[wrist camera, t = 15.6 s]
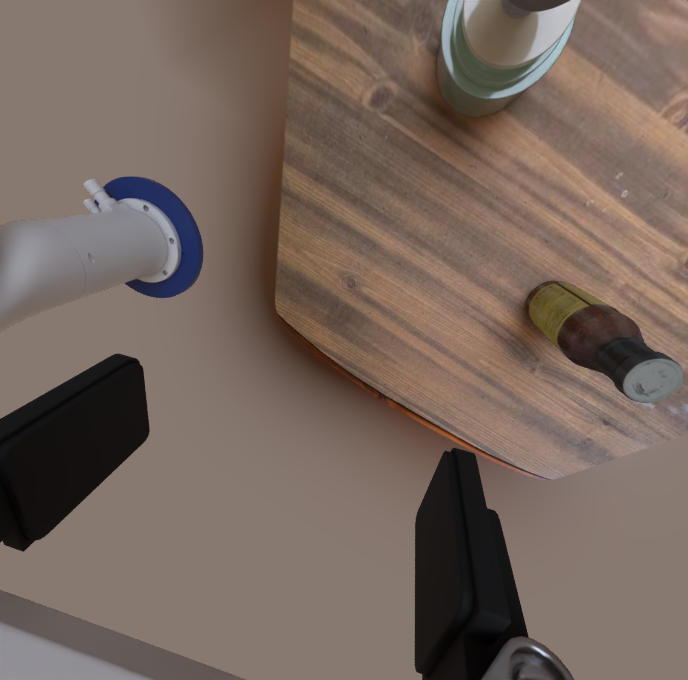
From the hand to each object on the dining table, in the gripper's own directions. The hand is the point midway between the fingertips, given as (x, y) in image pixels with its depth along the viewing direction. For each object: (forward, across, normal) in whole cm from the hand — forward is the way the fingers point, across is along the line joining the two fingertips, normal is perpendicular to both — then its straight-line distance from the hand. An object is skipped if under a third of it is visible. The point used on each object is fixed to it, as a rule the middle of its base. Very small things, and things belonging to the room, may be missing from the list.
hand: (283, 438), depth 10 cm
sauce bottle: (+38, -23, +3) cm, 45 cm away
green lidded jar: (+38, -6, -20) cm, 43 cm away
